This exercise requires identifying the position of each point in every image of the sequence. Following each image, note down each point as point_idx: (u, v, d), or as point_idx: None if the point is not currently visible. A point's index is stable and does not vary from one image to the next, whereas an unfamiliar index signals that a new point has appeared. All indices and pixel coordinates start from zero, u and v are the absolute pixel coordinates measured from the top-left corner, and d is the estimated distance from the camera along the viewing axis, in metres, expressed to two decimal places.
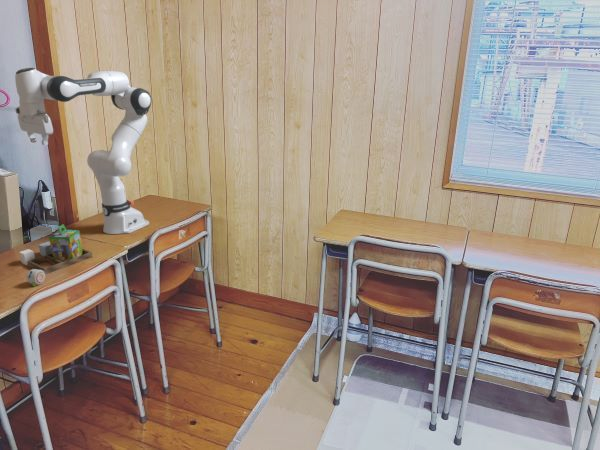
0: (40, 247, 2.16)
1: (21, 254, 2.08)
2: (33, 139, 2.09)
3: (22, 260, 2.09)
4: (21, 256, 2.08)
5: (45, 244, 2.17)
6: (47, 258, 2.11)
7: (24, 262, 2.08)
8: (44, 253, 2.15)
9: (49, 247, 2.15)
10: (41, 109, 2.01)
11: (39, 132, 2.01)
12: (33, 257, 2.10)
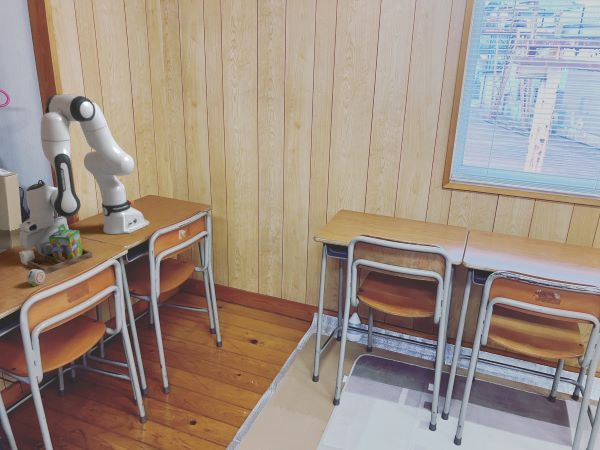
0: (40, 247, 2.16)
1: (21, 254, 2.08)
2: None
3: (22, 260, 2.09)
4: (21, 256, 2.08)
5: (45, 243, 2.17)
6: (47, 258, 2.11)
7: (24, 262, 2.08)
8: (44, 253, 2.15)
9: (49, 247, 2.15)
10: None
11: None
12: (33, 257, 2.10)
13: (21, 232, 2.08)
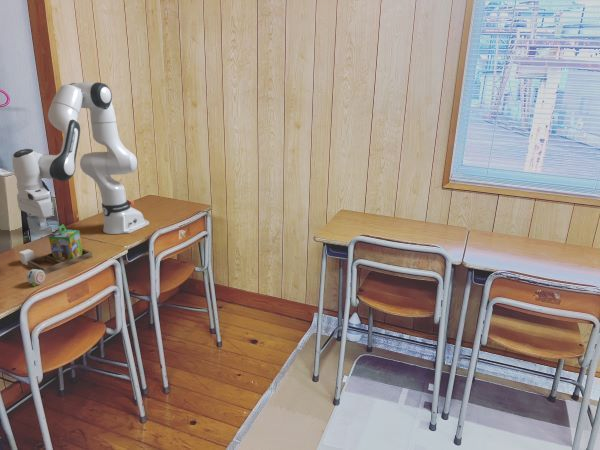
0: (36, 221, 1.97)
1: (21, 254, 2.08)
2: None
3: (22, 260, 2.09)
4: (21, 256, 2.08)
5: (35, 216, 1.98)
6: (47, 258, 2.11)
7: (24, 262, 2.08)
8: (45, 223, 2.00)
9: None
10: None
11: None
12: (33, 257, 2.10)
13: (41, 202, 1.90)
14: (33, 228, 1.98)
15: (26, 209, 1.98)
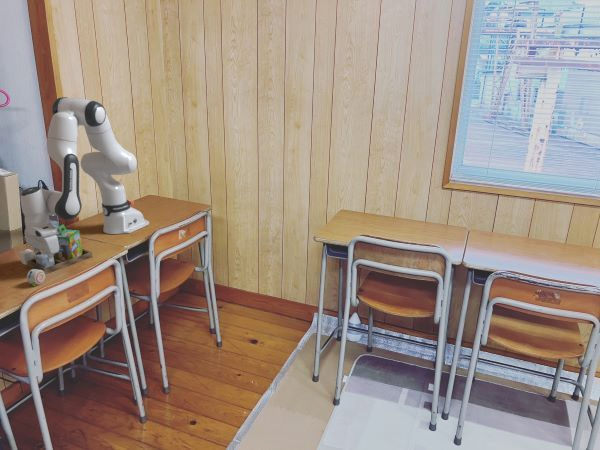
0: (44, 260, 2.03)
1: (21, 254, 2.08)
2: None
3: (22, 260, 2.09)
4: (21, 256, 2.08)
5: (44, 256, 2.04)
6: None
7: (24, 262, 2.08)
8: (52, 262, 2.06)
9: None
10: None
11: None
12: (33, 257, 2.10)
13: (48, 238, 1.95)
14: None
15: (33, 244, 2.03)
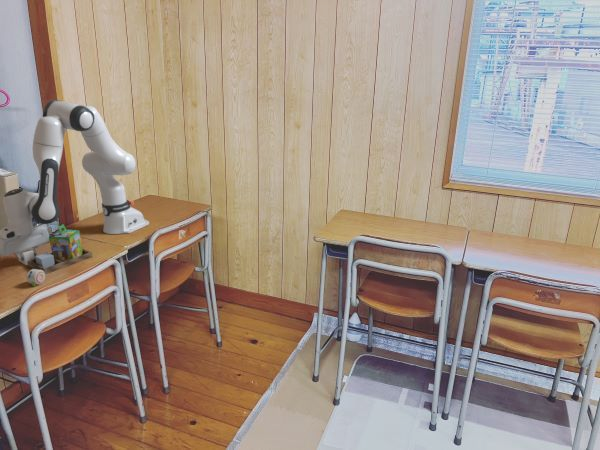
0: (44, 260, 2.03)
1: (21, 254, 2.08)
2: None
3: None
4: None
5: (44, 256, 2.04)
6: None
7: (24, 262, 2.08)
8: (52, 262, 2.06)
9: None
10: None
11: (40, 243, 2.11)
12: (33, 257, 2.10)
13: None
14: None
15: None
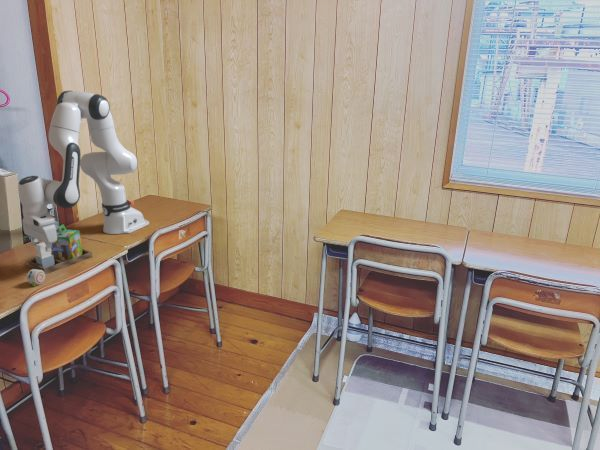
0: (44, 260, 2.03)
1: (44, 247, 2.02)
2: None
3: (44, 254, 2.03)
4: (44, 249, 2.02)
5: None
6: None
7: (48, 254, 2.04)
8: (52, 262, 2.06)
9: None
10: None
11: None
12: None
13: (46, 228, 1.94)
14: None
15: (31, 234, 2.02)
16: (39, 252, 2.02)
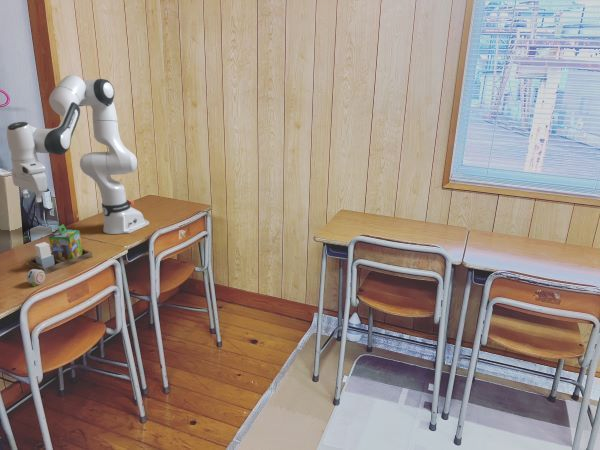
0: (44, 260, 2.03)
1: (43, 247, 2.02)
2: None
3: (44, 254, 2.03)
4: (43, 249, 2.02)
5: None
6: None
7: (48, 254, 2.04)
8: (52, 262, 2.06)
9: None
10: None
11: None
12: None
13: (36, 175, 1.87)
14: None
15: (21, 184, 1.94)
16: (38, 252, 2.02)
